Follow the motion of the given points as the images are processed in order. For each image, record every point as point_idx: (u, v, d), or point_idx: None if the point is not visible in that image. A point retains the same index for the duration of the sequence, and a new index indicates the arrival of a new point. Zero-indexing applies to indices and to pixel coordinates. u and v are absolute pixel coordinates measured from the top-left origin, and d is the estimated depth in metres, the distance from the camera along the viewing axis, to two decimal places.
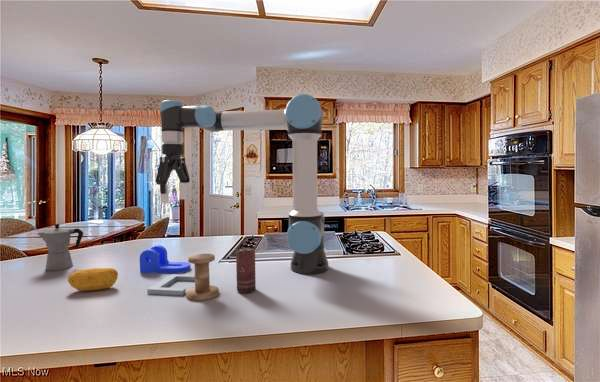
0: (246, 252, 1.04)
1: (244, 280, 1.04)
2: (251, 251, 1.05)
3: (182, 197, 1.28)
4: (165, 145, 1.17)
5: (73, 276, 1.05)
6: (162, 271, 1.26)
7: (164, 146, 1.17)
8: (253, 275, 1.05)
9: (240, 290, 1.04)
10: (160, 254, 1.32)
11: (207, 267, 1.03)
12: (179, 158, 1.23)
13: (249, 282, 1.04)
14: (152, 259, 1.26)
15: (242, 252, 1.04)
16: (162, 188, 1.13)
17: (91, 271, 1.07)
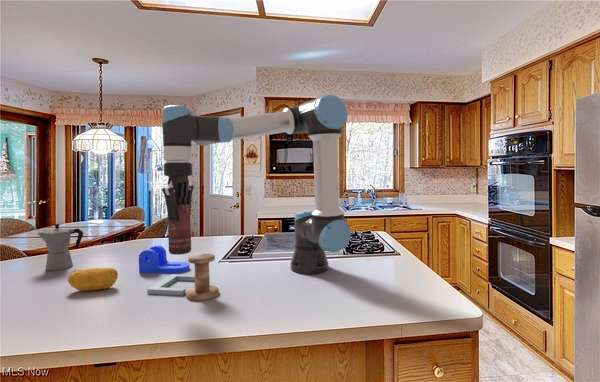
0: (177, 207, 0.91)
1: (175, 239, 0.91)
2: (183, 206, 0.92)
3: None
4: (168, 164, 0.89)
5: (72, 276, 1.05)
6: (161, 271, 1.26)
7: (167, 166, 0.89)
8: (186, 234, 0.92)
9: (171, 250, 0.92)
10: (159, 254, 1.32)
11: (207, 267, 1.03)
12: (186, 180, 0.95)
13: (181, 241, 0.91)
14: (151, 259, 1.26)
15: None
16: None
17: (91, 271, 1.07)
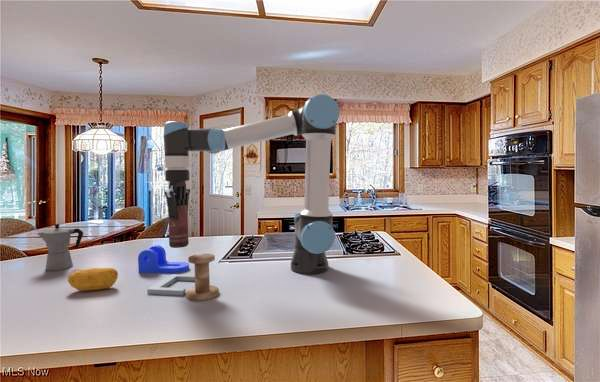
0: None
1: (175, 234, 1.07)
2: (182, 206, 1.08)
3: None
4: (169, 171, 1.05)
5: (73, 276, 1.05)
6: (161, 271, 1.26)
7: (168, 172, 1.05)
8: (184, 230, 1.09)
9: (171, 244, 1.08)
10: (158, 254, 1.32)
11: (207, 267, 1.03)
12: (184, 184, 1.11)
13: (180, 236, 1.07)
14: (150, 259, 1.26)
15: None
16: None
17: (91, 271, 1.07)
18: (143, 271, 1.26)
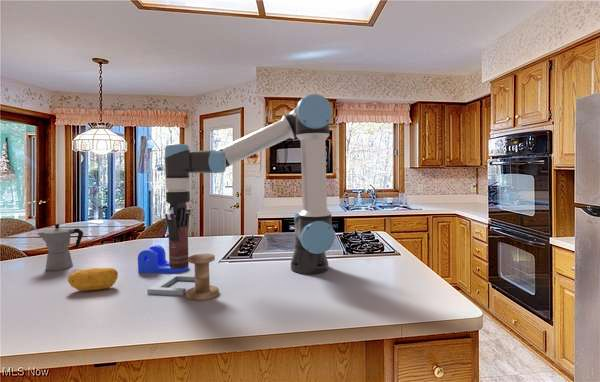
0: (177, 229, 1.07)
1: (175, 256, 1.07)
2: (182, 228, 1.08)
3: None
4: (169, 194, 1.06)
5: (73, 276, 1.05)
6: (160, 271, 1.26)
7: (168, 195, 1.06)
8: (185, 251, 1.09)
9: (171, 266, 1.08)
10: (158, 254, 1.32)
11: (207, 267, 1.03)
12: (184, 205, 1.12)
13: (180, 258, 1.08)
14: (150, 259, 1.26)
15: None
16: None
17: (91, 271, 1.07)
18: (143, 271, 1.26)
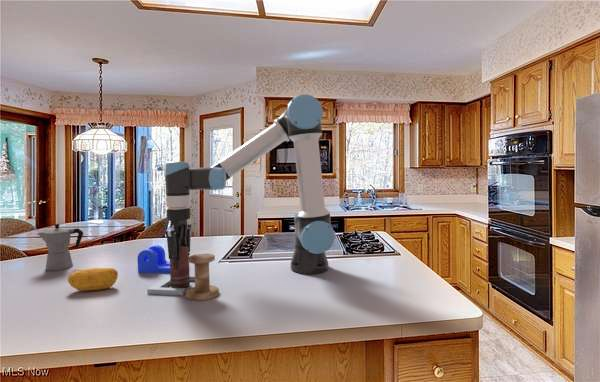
0: None
1: (176, 276, 1.08)
2: (183, 248, 1.09)
3: None
4: (170, 211, 1.06)
5: (72, 276, 1.05)
6: (160, 271, 1.26)
7: (169, 212, 1.06)
8: (186, 271, 1.10)
9: (173, 286, 1.09)
10: (158, 254, 1.32)
11: (207, 267, 1.03)
12: (185, 222, 1.12)
13: (181, 278, 1.08)
14: (150, 259, 1.26)
15: None
16: None
17: (91, 271, 1.07)
18: (142, 271, 1.26)
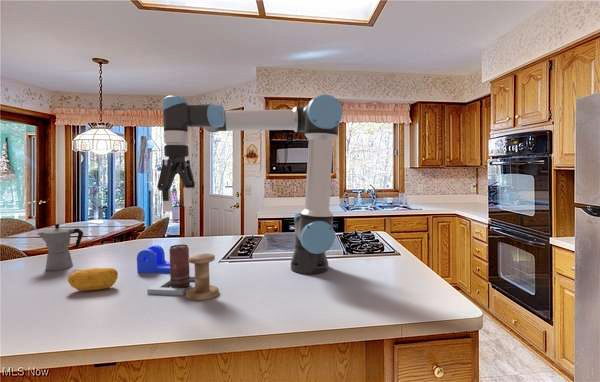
0: (178, 249, 1.08)
1: (176, 276, 1.08)
2: (183, 248, 1.09)
3: (186, 204, 1.16)
4: (168, 146, 1.05)
5: (72, 276, 1.05)
6: (159, 271, 1.26)
7: (167, 147, 1.05)
8: (186, 271, 1.10)
9: (173, 286, 1.09)
10: (157, 254, 1.32)
11: (207, 267, 1.03)
12: (183, 161, 1.10)
13: (181, 278, 1.08)
14: (149, 259, 1.26)
15: (174, 249, 1.08)
16: (165, 195, 1.01)
17: (91, 271, 1.07)
18: (142, 271, 1.26)
